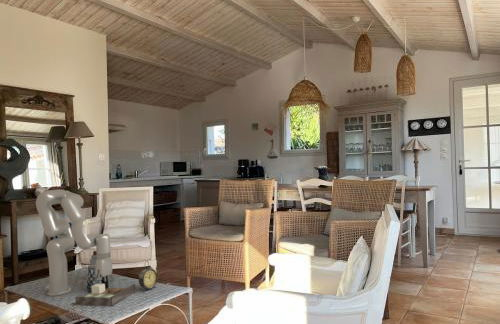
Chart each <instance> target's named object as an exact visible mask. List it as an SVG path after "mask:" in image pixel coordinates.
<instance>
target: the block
mask: <svg viewBox="0 0 500 324" xmlns="http://www.w3.org/2000/svg"><path fill="white" fill-rule="evenodd" d="M104 291H105V284H102V283H95V284H93V285H91V293H92V294H100V293H102V292H104Z"/></svg>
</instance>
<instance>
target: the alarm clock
mask: <svg viewBox="0 0 500 324" xmlns="http://www.w3.org/2000/svg"><path fill="white" fill-rule="evenodd" d="M146 263H148V265H144V267H145V269H143V270H142V271H140V273H139V275H138V284H139V286H140V287H141V288H142V289H143V293H145V291H146V289H152V288H156V284H157V283H158V282H157V281H158V273H157V271H156V270H155V269H154V268H148V267H149V265H150V263H149V262H148V261H145V262H144V264H146Z"/></svg>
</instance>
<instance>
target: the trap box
mask: <svg viewBox="0 0 500 324" xmlns="http://www.w3.org/2000/svg"><path fill="white" fill-rule="evenodd" d="M136 291H137V290H136V284H135V283H133V284H132V285H130V286H127V288H125V287H124V288H123V287H108V288H105V291H104V292H102V293H100V294H92V292H90V293H88V294H86V295H85V296H79V295H77V296H75V305H76V306H81V305H82V306H99V307H101V306H102V307H114V306H116V305H117V304H118V303H120V302H122V301H124V300H126V299H127V298H129V297H130V296H132V295H133V294H135V293H136Z"/></svg>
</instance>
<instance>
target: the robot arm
mask: <svg viewBox="0 0 500 324" xmlns="http://www.w3.org/2000/svg"><path fill="white" fill-rule="evenodd" d="M84 202H85V201H84V198H83V197H82V196H81V195H80V194H78V193H74V192H71V191H68V190H64V189H49V190H46V191H45V190H44V191H43V192H41V193H40V194H39V195H38V196H37V197H36V201H35V207H36V210H37V212H38V215H39V218H40V222H41V225H42V229H43V232H44V235H45V236H46V237H48V238H53V237H56V238H54V239H52V240H50V241H48V243H47V244H46V253H47V259H48V269H49V284H47V285H46V286H45V290H48V291H47V292H46V293H47V296H50V297H56V296H62V295H66V294H68V293H70V292H71V291H72V288H71V287H69V277H68V276H69V275H68V259H67V256H66V254H65V253H67V252H69V251H71V250H73V249H74V247H75V244H76V245H77V247H79V248H80V249H81V250H88V249H92V248H94V247H96V250H95V251H96V252H97V260H96V266H95V276H96V277H98V280H97V281H100V282H101V284H105V288H109V279H110V277H111V275H112V273H113V263H112V256H111V255H112V254H111V238H110V237H111V236H110V234H109V233H100V234H99V233H90V234H86V232H85V230H84V228H83V227H84V226H83V225H84V221H85V219H86V214H85V212H84V210H83V209H82V208H81V207H83V205H84ZM58 204H60V206H61V207H62V209H63V212H64V213H65V215H66V216H67V218H68V220H69V221H70V222H69V221H67V219H64V218H58V215H57V213H56V210H55V208H53V207H52V206H53V205H58ZM70 224H71V225H70Z"/></svg>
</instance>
